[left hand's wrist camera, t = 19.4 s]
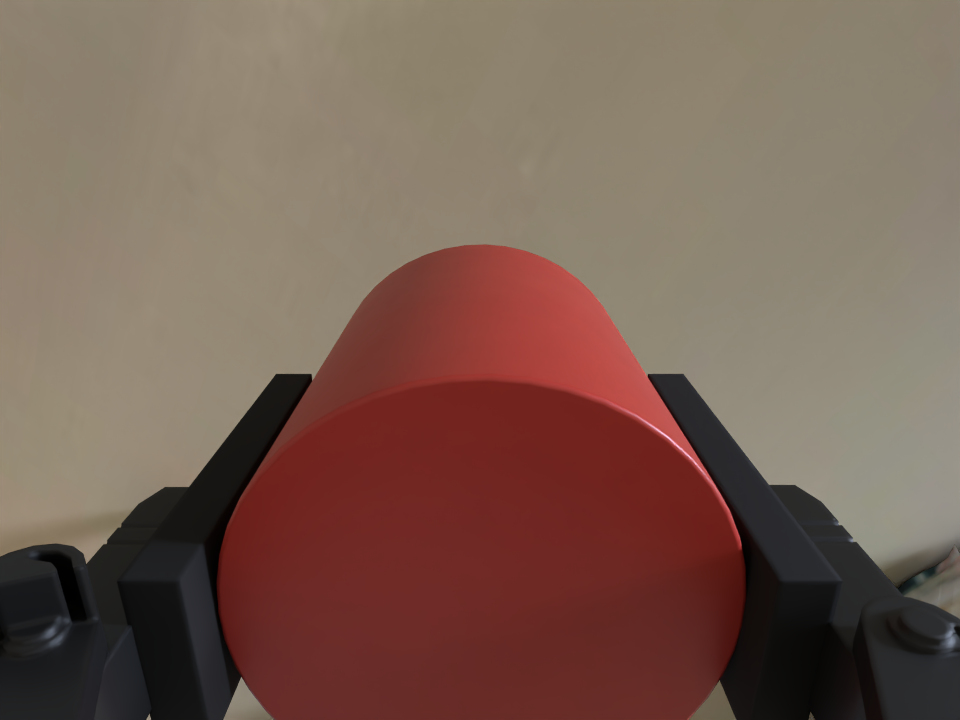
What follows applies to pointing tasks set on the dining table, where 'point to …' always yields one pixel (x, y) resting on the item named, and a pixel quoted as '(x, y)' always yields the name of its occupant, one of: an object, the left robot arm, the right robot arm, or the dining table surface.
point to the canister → (481, 518)
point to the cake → (938, 585)
